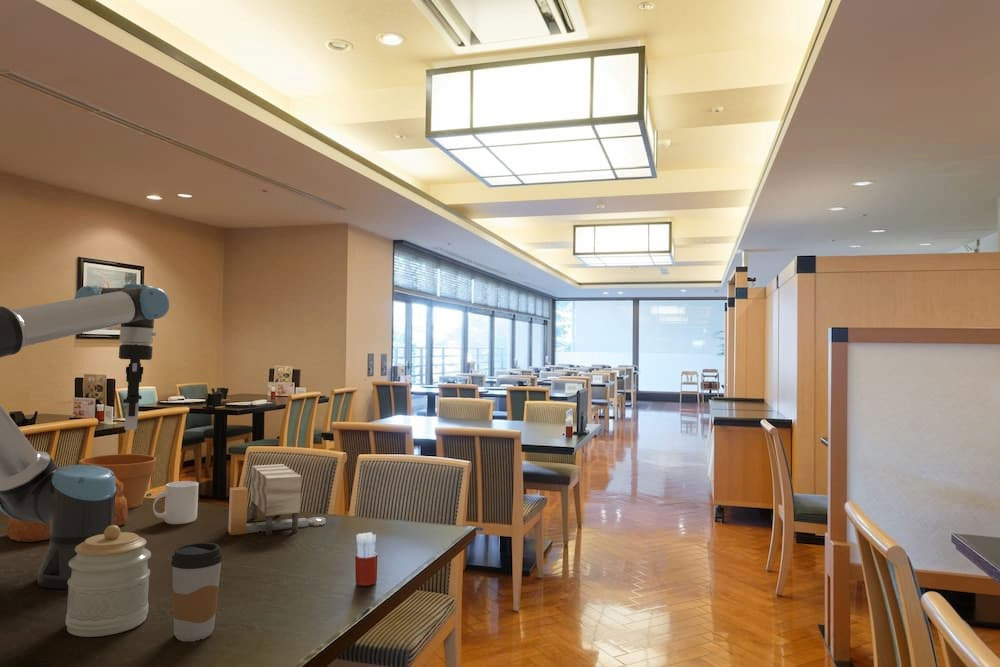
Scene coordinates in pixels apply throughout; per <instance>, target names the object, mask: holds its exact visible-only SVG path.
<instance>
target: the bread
mask: <svg viewBox="0 0 1000 667" xmlns="http://www.w3.org/2000/svg"><path fill="white" fill-rule="evenodd" d="M115 486H116V493H115V508H114V523H113V525H116V526H118V527H120V526H123V525H125V524H126V523H127V522H128V518H129V516H128V515H129V511H128V510H129V509H127V501H126V499H125V497H124V496H123V492H124V487H123V483H122V482H120V481H119V480H117V478H116V476H115ZM6 530H7V537H8V538H9V539H11V541H16V542H21V543H23V542H24V543H32V542H40V541H44V540H50V524H45V523H38V522H32V521H22V520H18V519H14V518H12V517H10V516H8V523H7V529H6Z"/></svg>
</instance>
